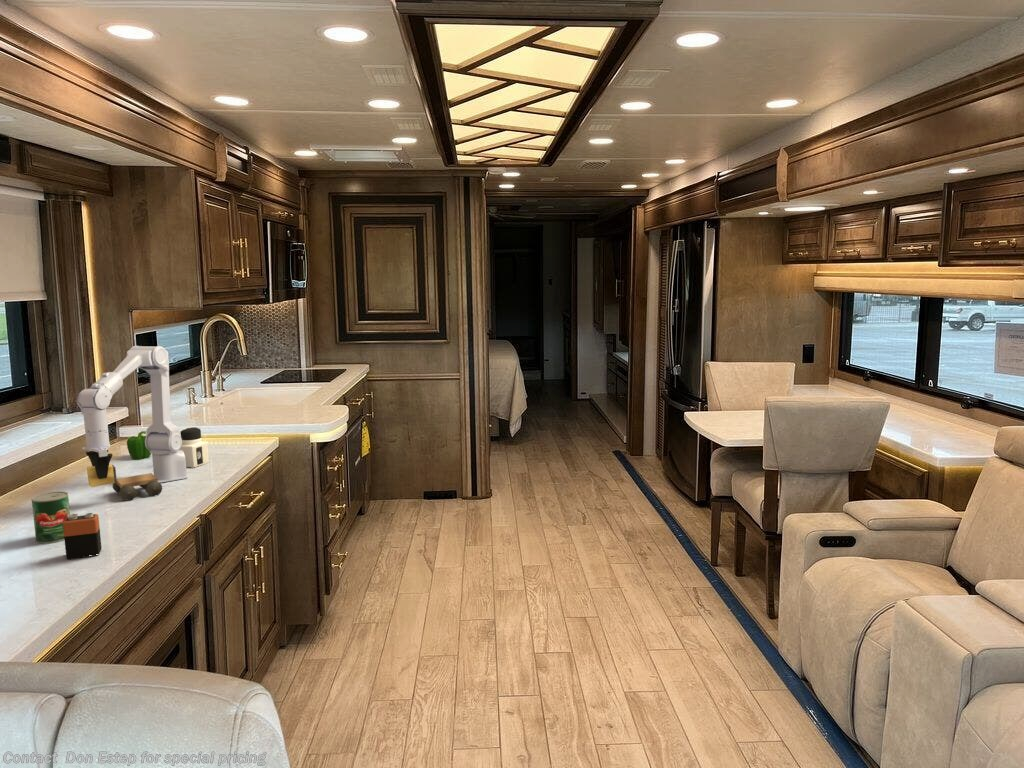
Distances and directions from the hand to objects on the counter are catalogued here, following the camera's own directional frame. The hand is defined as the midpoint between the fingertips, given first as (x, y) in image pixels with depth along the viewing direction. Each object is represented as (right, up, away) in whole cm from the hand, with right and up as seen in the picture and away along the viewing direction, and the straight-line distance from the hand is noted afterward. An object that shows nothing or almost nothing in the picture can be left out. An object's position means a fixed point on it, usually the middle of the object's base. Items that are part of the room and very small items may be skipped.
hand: (101, 476), depth 211 cm
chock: (0, -2, 0) cm, 2 cm away
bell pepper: (-17, -1, +56) cm, 59 cm away
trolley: (+5, -7, +11) cm, 14 cm away
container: (+7, -2, +46) cm, 46 cm away
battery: (+17, -14, -37) cm, 43 cm away
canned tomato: (+3, -13, -26) cm, 29 cm away
